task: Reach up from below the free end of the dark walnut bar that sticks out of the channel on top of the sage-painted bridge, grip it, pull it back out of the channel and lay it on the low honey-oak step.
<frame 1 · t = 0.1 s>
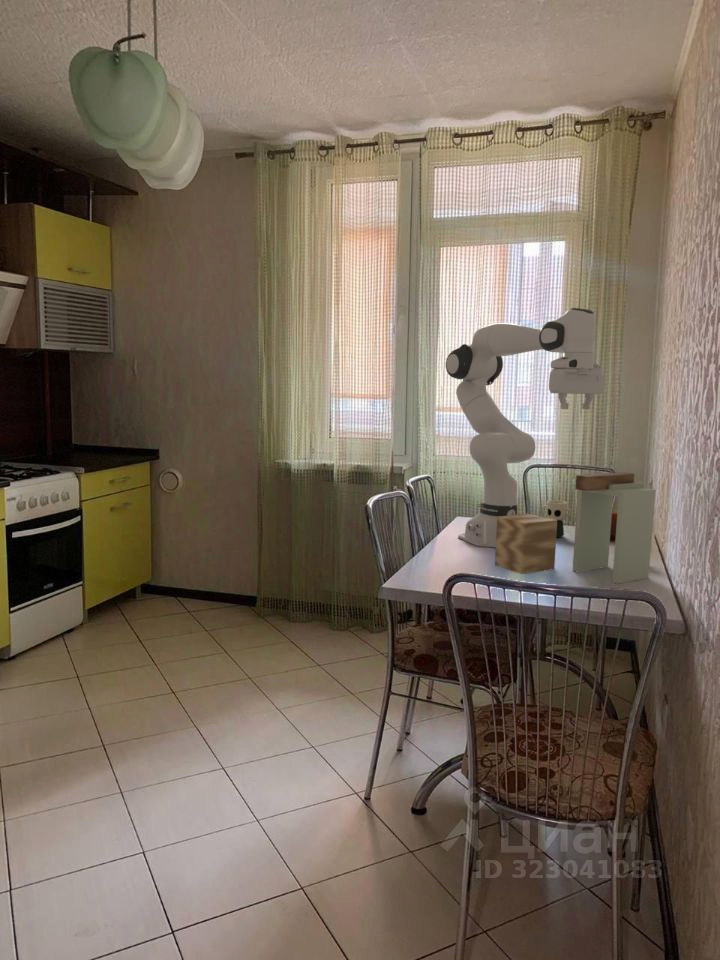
hand: (575, 409, 218), 48 cm above the table, tool pointing down, fingers open, 8 cm apart
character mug: (554, 537, 265), on the table
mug: (612, 540, 263), on the table
oak step: (524, 566, 219), on the table
walnut bar: (604, 488, 207), point 26 cm above the table, touching bridge
bridge: (610, 574, 213), on the table
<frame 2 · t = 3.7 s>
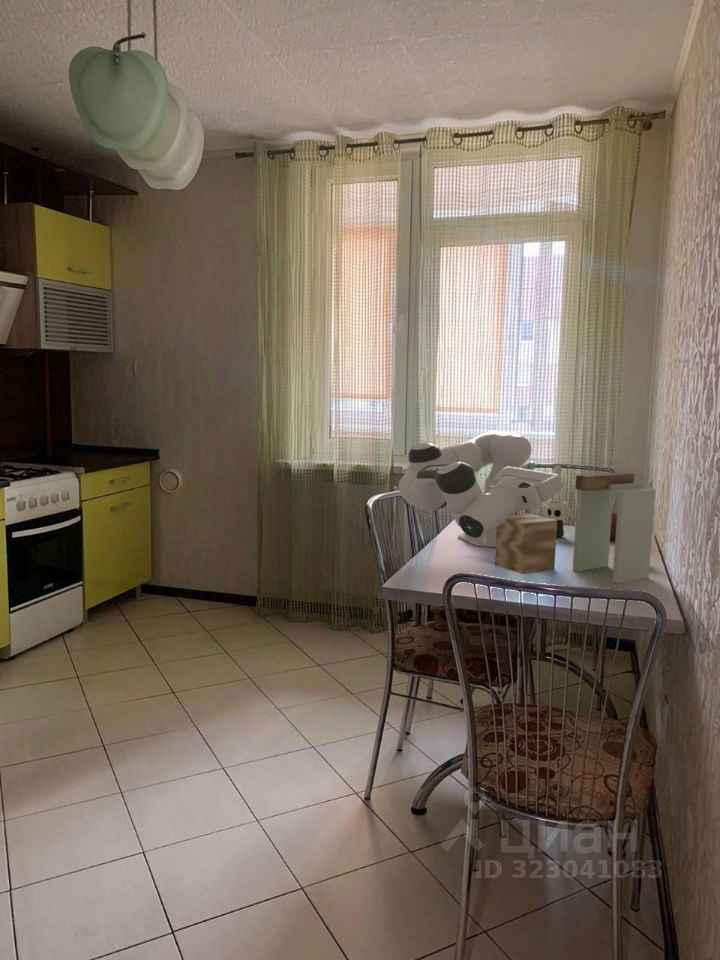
hand: (546, 466, 193), 33 cm above the table, tool pointing upward, fingers open, 8 cm apart
nothing on the table moved.
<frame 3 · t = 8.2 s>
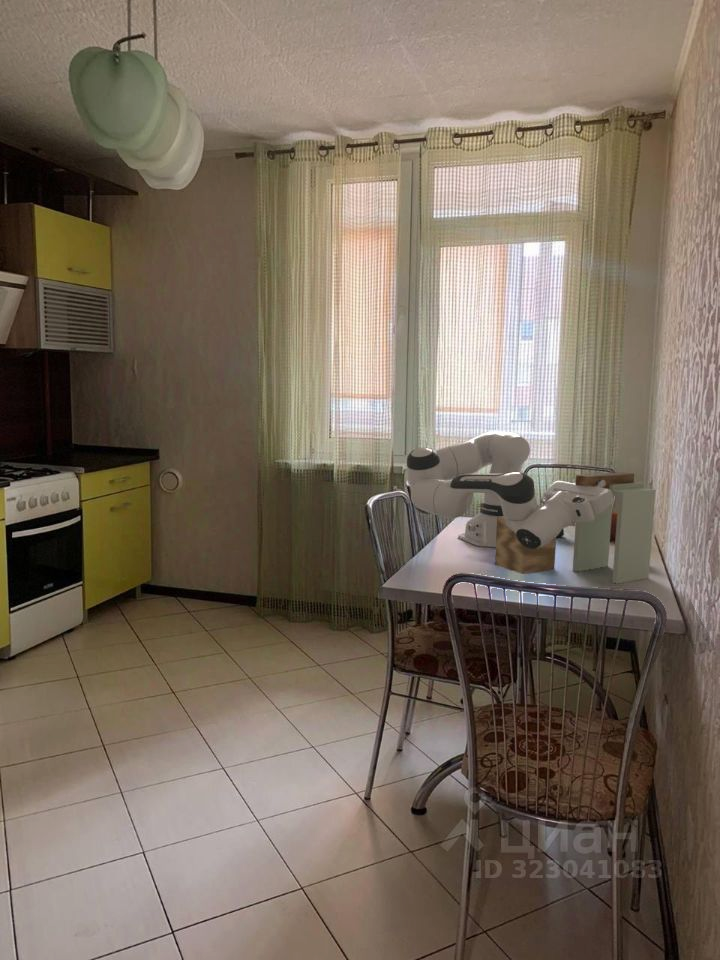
hand: (595, 480, 205), 28 cm above the table, tool pointing upward, fingers closed on walnut bar, 4 cm apart
walnut bar: (604, 488, 207), point 26 cm above the table, touching gripper
everything else where it was.
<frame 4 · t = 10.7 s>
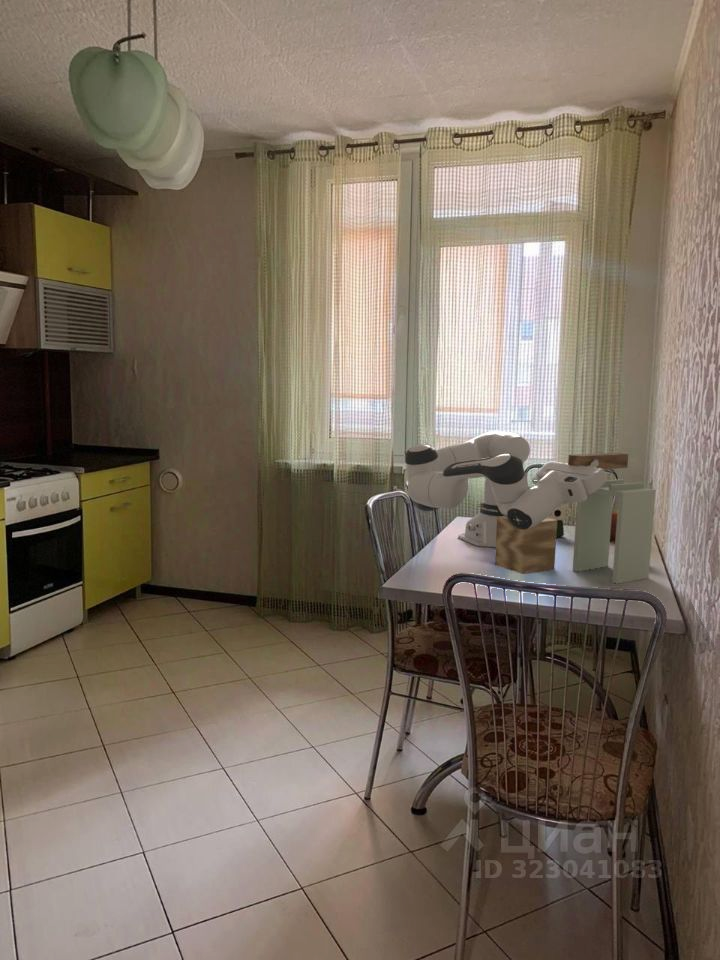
hand: (588, 460, 201), 34 cm above the table, tool pointing upward, fingers closed on walnut bar, 4 cm apart
walnut bar: (598, 468, 204), point 32 cm above the table, touching gripper
everything else where it was.
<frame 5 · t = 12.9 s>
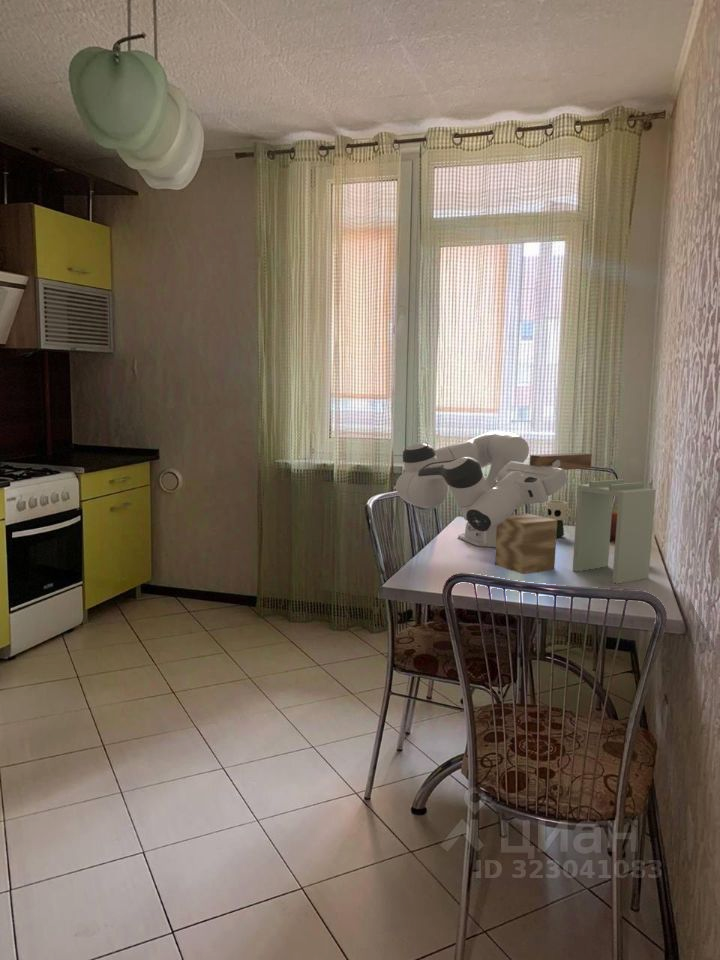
hand: (550, 460, 197), 34 cm above the table, tool pointing upward, fingers closed on walnut bar, 4 cm apart
walnut bar: (560, 468, 200), point 32 cm above the table, touching gripper
everything else where it was.
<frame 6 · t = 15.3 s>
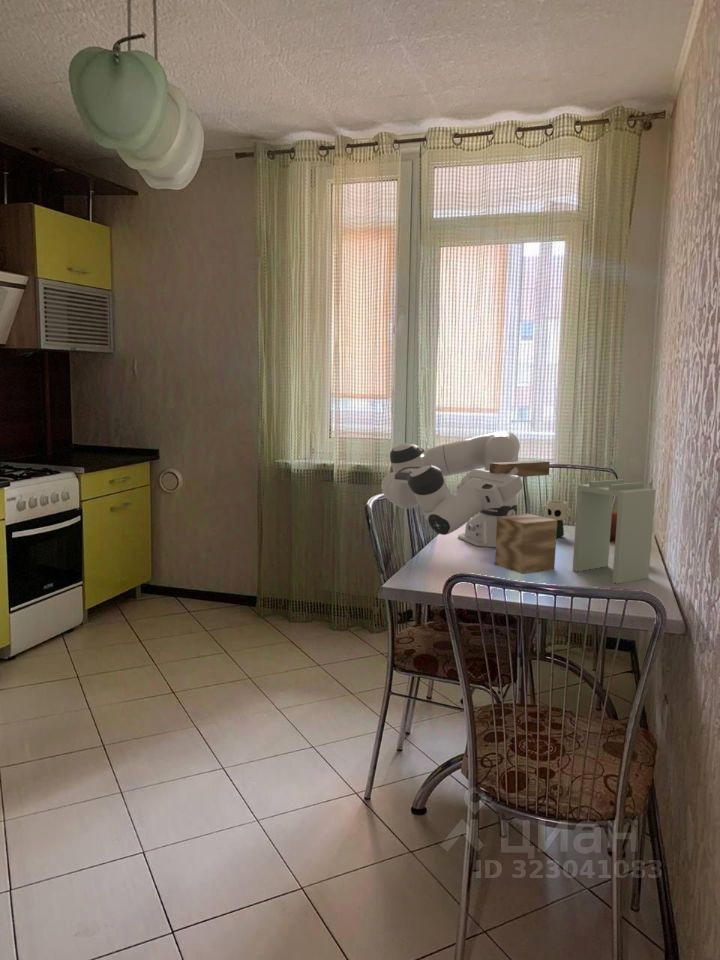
hand: (509, 468, 210), 31 cm above the table, tool pointing upward, fingers closed on walnut bar, 4 cm apart
walnut bar: (519, 475, 213), point 28 cm above the table, touching gripper
everything else where it was.
when the fingers open (19 cm above the table, at t = 17.6 s): walnut bar drops 2 cm, resting on oak step.
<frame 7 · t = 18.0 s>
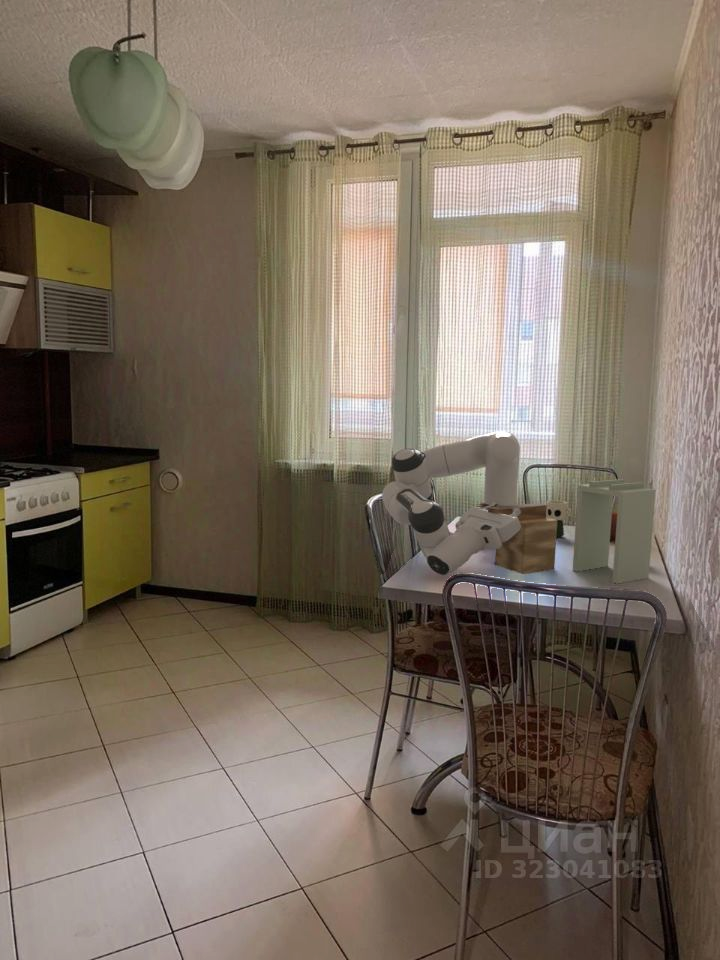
hand: (507, 507, 212), 19 cm above the table, tool pointing upward, fingers open, 8 cm apart
walnut bar: (517, 519, 215), point 15 cm above the table, touching oak step
everything else where it was.
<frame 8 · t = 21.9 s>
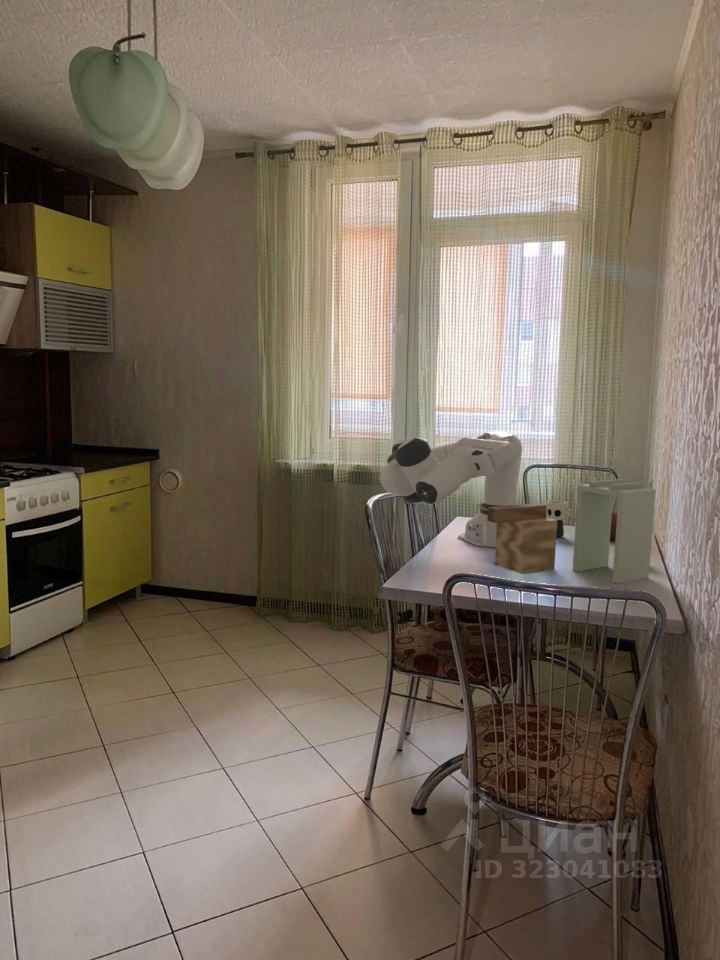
hand: (500, 436, 202), 40 cm above the table, tool pointing upward, fingers open, 8 cm apart
nothing on the table moved.
at the end: walnut bar moved 26.5 cm from its start; walnut bar inside the target area on the oak step (2.3 cm from its centre), point 15.0 cm above the oak step's base; the gripper is holding nothing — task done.
